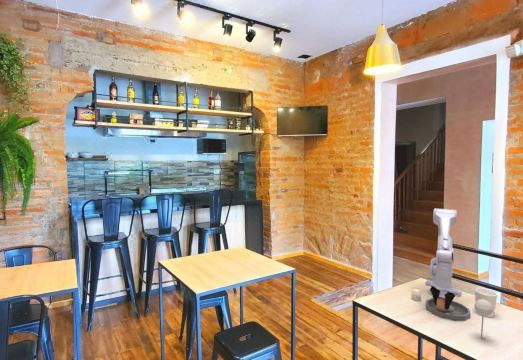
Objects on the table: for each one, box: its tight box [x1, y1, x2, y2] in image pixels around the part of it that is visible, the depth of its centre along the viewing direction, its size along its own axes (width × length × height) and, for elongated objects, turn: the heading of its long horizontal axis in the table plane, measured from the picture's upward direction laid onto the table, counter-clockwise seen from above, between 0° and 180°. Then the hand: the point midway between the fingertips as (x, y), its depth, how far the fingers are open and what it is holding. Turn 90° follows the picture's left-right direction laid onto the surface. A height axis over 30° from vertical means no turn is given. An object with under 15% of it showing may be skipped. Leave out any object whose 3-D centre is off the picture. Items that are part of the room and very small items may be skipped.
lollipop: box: [473, 299, 493, 339], centre depth 121 cm, size 6×6×15 cm
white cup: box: [474, 287, 498, 318], centre depth 140 cm, size 8×8×10 cm
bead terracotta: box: [436, 297, 447, 312], centre depth 139 cm, size 4×4×5 cm
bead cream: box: [411, 287, 422, 302], centre depth 153 cm, size 4×4×5 cm
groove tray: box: [425, 297, 471, 322], centre depth 142 cm, size 17×17×2 cm
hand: (441, 306), depth 139 cm, fingers closed on bead terracotta, 4 cm apart
